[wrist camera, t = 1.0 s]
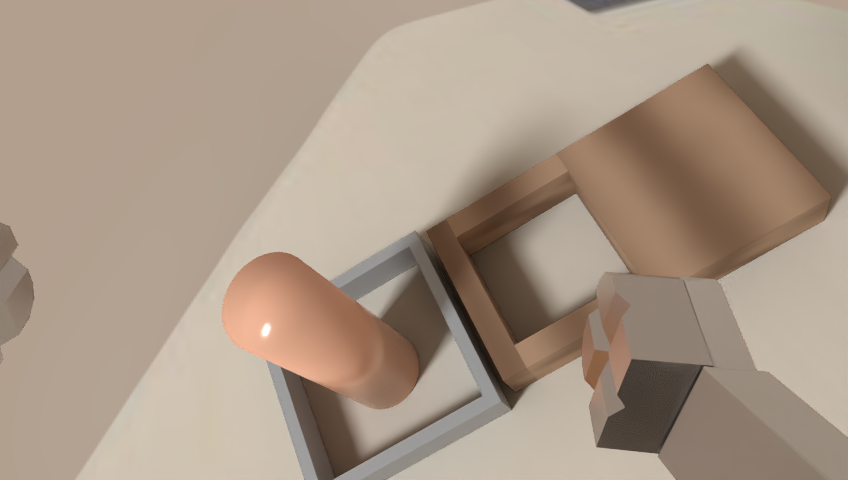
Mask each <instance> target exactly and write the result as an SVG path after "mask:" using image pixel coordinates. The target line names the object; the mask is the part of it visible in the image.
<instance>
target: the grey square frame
mask: <svg viewBox="0 0 848 480" xmlns="http://www.w3.org/2000/svg"><path fill="white" fill-rule="evenodd" d="M416 264H418V265H419V267H420V269H421V271H422V273H423V275H424V277H425V280H426V282H427V284H428V286H429V288H430V290H431V292H432V294H433V296H434V298H435V300H436V302H437V304H438V306H439V308H440V310H441V312H442V314H443V316H444V318H445V320H446V322H447V324H448V326H449V328H450V330H451V333H452V335H453V337H454V339H455V341H456V343H457V345H458V347H459V349H460V351H461V353H462V355H463V357H464V359H465V361H466V363H467V365H468V367H469V369H470V371H471V373H472V375H473V377H474V379H475V381H476V383H477V385H478V388H479V390H480V392H481V394H482V396H481V397H480V398H478V399H476V400H474V401H472V402H471V403H469V404H467V405H465V406H463V407H462V408H460V409H458V410H456V411H455V412H453V413H451V414H449V415H447V416H446V417H444V418H442V419H440V420H438V421H437V422H435V423H433V424H431V425H430V426H428V427H426V428H424V429H422V430H421V431H419V432H417V433H415V434H413V435H412V436H410V437H408V438H406V439H405V440H403V441H401V442H399V443H397V444H396V445H394V446H392V447H390V448H388V449H387V450H385V451H383V452H381V453H380V454H378V455H376V456H374V457H372V458H371V459H369V460H367V461H365V462H363V463H362V464H360V465H358V466H356V467H355V468H353V469H351V470H349V471H347V472H346V473H344V474H342V475H340V476H339V477H337V478H335V476H334V473H333V470H332V468H331V465H330V462H329V459H328V456H327V453H326V450H325V447H324V444H323V441H322V439H321V436H320V433H319V430H318V427H317V424H316V421H315V418H314V415H313V412H312V410H311V407H310V404H309V401H308V398H307V395H306V392H305V389H304V386H303V383H302V380H301V378H300V375H298V374H296V373H294V372H291V371H289V370H287V369H285V368H283V367H281V366H278V365H276V364H274V363H272V362H270V361H268V360H266V361H267V364H268V367H269V370H270V374H271V377H272V380H273V383H274V386H275V389H276V392H277V395H278V399H279V402H280V405H281V408H282V411H283V414H284V417H285V420H286V424H287V427H288V430H289V433H290V436H291V439H292V442H293V445H294V449H295V452H296V455H297V458H298V461H299V464H300V467H301V470H302V474H303V477H304V480H386V479H388V478H390V477H391V476H393V475H395V474H397V473H399V472H401V471H402V470H404V469H406V468H408V467H410V466H411V465H413V464H415V463H417V462H419V461H420V460H422V459H424V458H426V457H428V456H429V455H431V454H433V453H435V452H437V451H438V450H440V449H442V448H444V447H446V446H447V445H449V444H451V443H453V442H455V441H456V440H458V439H460V438H462V437H464V436H465V435H467V434H469V433H471V432H473V431H474V430H476V429H478V428H480V427H482V426H483V425H485V424H487V423H489V422H491V421H492V420H494V419H496V418H498V417H500V416H501V415H503V414H505V413H507V412H509V411H510V410H512V409H511V407H510V405H509V403H508V401H507V400H506V398H505V396H504V394H503V392H502V390H501V388H500V386H499V384H498V382H497V380H496V378H495V376H494V374H493V372H492V370H491V368H490V366H489V364H488V362H487V360H486V358H485V356H484V354H483V352H482V350H481V348H480V346H479V345H478V343H477V341H476V339H475V337H474V335H473V333H472V331H471V329H470V327H469V325H468V323H467V321H466V319H465V317H464V315H463V313H462V311H461V309H460V307H459V305H458V303H457V301H456V299H455V297H454V295H453V293H452V291H451V290H450V288H449V286H448V284H447V282H446V280H445V278H444V276H443V274H442V272H441V270H440V268H439V266H438V264H437V262H436V260H435V258H434V256H433V254H432V252H431V250H430V248H429V246H428V245H427V244H426V243H425V241H424V240H423V239H422V238H421V237H420V236H419V235H418V234H417V232H416V231H414V232H412V233H410V234H409V235H407V236H405V237H404V238H402V239H400V240H399V241H397V242H395V243H394V244H392V245H390V246H389V247H387V248H385V249H384V250H382V251H380V252H379V253H377V254H375V255H374V256H372V257H370V258H369V259H367V260H365V261H364V262H362V263H360V264H359V265H357V266H355V267H354V268H352V269H350V270H349V271H347V272H345V273H344V274H342V275H340V276H339V277H337V278H335V279H333V280H332V281H330V282H331V283H332V284H334V285H335V286H336V287H338V288H339V289H340V290H342V291H343V292H344V293H346V294H347V295H348V296H350V297H351V298H352V299H354V300H357V299H359V298H360V297H362V296H364V295H365V294H367V293H369V292H370V291H372V290H374V289H376V288H377V287H379V286H381V285H382V284H384V283H386V282H387V281H389V280H391V279H392V278H394V277H396V276H397V275H399V274H401V273H403V272H404V271H406V270H408V269H409V268H411V267H413V266H414V265H416Z"/></svg>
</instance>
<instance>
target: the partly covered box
mask: <svg viewBox="0 0 848 480" xmlns="http://www.w3.org/2000/svg"><path fill="white" fill-rule="evenodd" d="M575 193H576V194H577V195H578V197H579V198H580V199H581V201H582V202H583V204H584V205H585V207H586V208H587V210H588V211H589V213H590V214H591V216H592V217H593V218H594V220H595V221H596V223H597V224H598V226H599V227H600V229H601V230H602V232H603V233H604V235H605V236H606V237H607V239H608V240H609V242H610V243H611V245H612V246H613V248H614V249H615V251H616V252H617V254H618V255H619V256H620V258H621V259H622V261H623V262H624V264H625V265H626V267H627V268H628V270H629V271H630V273H631V274H640V275H653V276H667V277H675V278H677V277H690V278H705V279H715V280H718V279H720V278H722V277H723V276H725V275H727V274H729V273H731V272H732V271H734V270H736V269H738V268H740V267H741V266H743V265H745V264H747V263H749V262H750V261H752V260H754V259H756V258H757V257H759V256H761V255H763V254H765V253H766V252H768V251H770V250H772V249H774V248H775V247H777V246H779V245H781V244H783V243H784V242H786V241H788V240H790V239H792V238H793V237H795V236H797V235H799V234H801V233H802V232H804V231H806V230H808V229H810V228H811V227H813V226H815V225H817V224H818V223H820V222H822V221H824V220H825V217H826V214H827V211H828V208H829V205H830V202H831V199H832V196H831V195H830V194H829V192H828V191H827V190H826V189H825V188H824V187H823V186H822V185H821V184H820V183H819V182H818V181H817V180H816V179H815V178H814V176H813V175H812V174H811V173H810V172H809V171H808V170H807V169H806V168H805V167H804V166H803V165H802V164H801V163H800V162H799V160H798V159H797V158H796V157H795V156H794V155H793V154H792V153H791V152H790V151H789V150H788V149H787V148H786V147H785V146H784V144H783V143H782V142H781V141H780V140H779V139H778V138H777V137H776V136H775V135H774V134H773V133H772V132H771V131H770V130H769V128H768V127H767V126H766V125H765V124H764V123H763V122H762V121H761V120H760V119H759V118H758V117H757V116H756V115H755V114H754V112H753V111H752V110H751V109H750V108H749V107H748V106H747V105H746V104H745V103H744V102H743V101H742V100H741V99H740V98H739V96H738V95H737V94H736V93H735V92H734V91H733V90H732V89H731V88H730V87H729V86H728V85H727V84H726V83H725V81H724V80H723V79H722V78H721V77H720V76H719V75H718V74H717V73H716V72H715V71H714V70H713V69H712V68H711V67H710V65H709V64H706V65H704V66H703V67H701V68H699V69H698V70H696V71H694V72H693V73H691V74H689V75H688V76H686V77H684V78H683V79H681V80H679V81H678V82H676V83H674V84H673V85H671V86H669V87H668V88H666V89H664V90H663V91H661V92H659V93H657V94H656V95H654V96H652V97H651V98H649V99H647V100H646V101H644V102H642V103H641V104H639V105H637V106H636V107H634V108H632V109H631V110H629V111H627V112H626V113H624V114H622V115H621V116H619V117H617V118H616V119H614V120H612V121H611V122H609V123H607V124H606V125H604V126H602V127H601V128H599V129H597V130H596V131H594V132H592V133H590V134H589V135H587V136H585V137H584V138H582V139H580V140H579V141H577V142H575V143H574V144H572V145H570V146H569V147H567V148H565V149H564V150H562V151H560V152H559V153H557V154H555V155H554V156H552V157H550V158H549V159H547V160H545V161H544V162H542V163H540V164H539V165H537V166H535V167H534V168H532V169H530V170H528V171H527V172H525V173H523V174H522V175H520V176H518V177H517V178H515V179H513V180H512V181H510V182H508V183H507V184H505V185H503V186H502V187H500V188H498V189H497V190H495V191H493V192H492V193H490V194H488V195H487V196H485V197H483V198H482V199H480V200H478V201H477V202H475V203H473V204H472V205H470V206H468V207H467V208H465V209H463V210H461V211H460V212H458V213H456V214H455V215H453V216H451V217H450V218H448V219H446V220H445V221H443V222H441V223H440V224H438V225H436V226H435V227H433V228H431V229H430V230H428V231H426V232H427V234H428V236H429V238H430V239H431V241H432V243H433V245H434V247H435V249H436V251H437V253H438V255H439V257H440V259H441V261H442V263H443V265H444V267H445V269H446V271H447V273H448V274H449V276H450V278H451V280H452V282H453V284H454V286H455V288H456V290H457V292H458V294H459V296H460V298H461V300H462V302H463V304H464V306H465V308H466V309H467V311H468V313H469V315H470V317H471V319H472V321H473V323H474V325H475V327H476V329H477V331H478V333H479V335H480V337H481V339H482V341H483V343H484V344H485V346H486V348H487V350H488V352H489V354H490V356H491V358H492V360H493V362H494V364H495V366H496V368H497V370H498V372H499V374H500V376H501V378H502V379H503V381H504V382H505V383H506V384H507V385H508V386H509V387H511V388H512V389H513V390H514V391H515V392H517V391H519V390H521V389H522V388H524V387H526V386H528V385H530V384H531V383H533V382H535V381H537V380H539V379H540V378H542V377H544V376H546V375H548V374H549V373H551V372H553V371H555V370H557V369H558V368H560V367H562V366H564V365H566V364H567V363H569V362H571V361H573V360H574V359H576V358H578V357H580V356H582V343H583V333H584V329H585V326H586V322H587V318H588V315H589V314H591V313H592V312H593V311H595V310H596V309H598V308H599V307H598V302H597V299H595V300H593V301H591V302H590V303H588V304H586V305H584V306H583V307H581V308H579V309H577V310H576V311H574V312H572V313H570V314H569V315H567V316H565V317H563V318H561V319H560V320H558V321H556V322H554V323H553V324H551V325H549V326H547V327H546V328H544V329H542V330H540V331H539V332H537V333H535V334H533V335H531V336H530V337H528V338H526V339H524V340H523V341H521V342H519V343H517V341H516V339H515V337H514V335H513V333H512V332H511V330H510V328H509V326H508V324H507V322H506V321H505V319H504V317H503V315H502V313H501V311H500V309H499V308H498V306H497V304H496V302H495V300H494V298H493V297H492V295H491V293H490V291H489V289H488V287H487V286H486V284H485V282H484V280H483V278H482V276H481V275H480V273H479V271H478V269H477V267H476V265H475V264H474V262H473V260H472V258H471V256H470V255H472V254H473V253H475V252H477V251H478V250H480V249H482V248H484V247H485V246H487V245H489V244H490V243H492V242H494V241H495V240H497V239H499V238H501V237H502V236H504V235H506V234H507V233H509V232H511V231H513V230H514V229H516V228H518V227H519V226H521V225H523V224H524V223H526V222H528V221H530V220H531V219H533V218H535V217H536V216H538V215H540V214H541V213H543V212H545V211H547V210H548V209H550V208H552V207H553V206H555V205H557V204H558V203H560V202H562V201H564V200H565V199H567V198H569V197H570V196H572V195H574V194H575Z"/></svg>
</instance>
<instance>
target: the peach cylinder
mask: <svg viewBox="0 0 848 480" xmlns="http://www.w3.org/2000/svg"><path fill="white" fill-rule="evenodd" d="M222 320H223V325H224V328H225V331H226V333H227V335H228V337H229V338H230V339H231V341H232V342H233V343H234V344H235V345H237V346H238V347H240V348H242V349H244V350H246V351H248V352H250V353H252V354H255V355H257V356H259V357H261V358H263V359H265V360H268V361H270V362H272V363H274V364H276V365H278V366H281V367H283V368H285V369H287V370H289V371H291V372H294V373H296V374H298V375H300V376H302V377H304V378H307V379H309V380H311V381H313V382H315V383H317V384H320V385H322V386H324V387H326V388H328V389H330V390H333V391H335V392H337V393H339V394H341V395H343V396H346V397H348V398H350V399H352V400H354V401H356V402H359V403H361V404H363V405H365V406H367V407H370V408H374V409H386V408H390V407H393V406H395V405H397V404H399V403H400V402H402V401H403V400H404V399H405V398H406V397H407V396H408V395H409V394H410V393H411V391H412V390H413V388H414V386H415V384H416V382H417V379H418V375H419V359H418V355H417V352H416V350H415V348H414V346H413V345H412V344H411V343H410V342H409V341H408V340H407V339H406V338H405V337H403V336H402V335H401V334H399V333H398V332H397V331H395V330H394V329H392V328H391V327H390V326H388V325H387V324H386V323H384V322H383V321H382V320H380V319H379V318H378V317H376V316H375V315H374V314H372V313H371V312H370V311H368V310H367V309H366V308H364V307H363V306H362V305H360V304H359V303H358V302H356V301H355V300H354V299H352V298H351V297H350V296H348V295H347V294H346V293H344V292H343V291H342V290H340V289H339V288H338V287H336V286H335V285H334V284H332V283H331V282H330V281H328V280H327V279H325V278H324V277H323V276H321V275H320V274H319V273H317V272H316V271H315V270H313V269H312V268H311V267H309V266H308V265H307V264H305V263H304V262H303V261H301V260H300V259H299V258H297V257H295V256H294V255H291V254H288V253H283V252H274V253H268V254H264V255H262V256H259V257H257V258H256V259H254V260H252V261H251V262H249V263H248V264H247V265H245V266H244V267H243V268H242V269H241V270H240V271H239V272H238V273H237V275H236V276H235V277H234V279H233V280H232V282H231V283H230V285H229V287H228V289H227V292H226V294H225V298H224V301H223V307H222Z"/></svg>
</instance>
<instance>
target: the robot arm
mask: <svg viewBox="0 0 848 480" xmlns="http://www.w3.org/2000/svg"><path fill="white" fill-rule="evenodd" d="M17 246H18V243H17V241H16V239H15V237H14V235H13V233H12V230H11V228H10V227H9V226H8V225H5V224H2V223H0V346H1V345H2V344H4V343H6V342H7V341H9V340H11V339H12V338H14V337H16V336H17V335H19V334H20V332H21V331H22V329H23V328H24V326H25V324H26V323H27V321H28V320H29V317H30V313H31V309H32V305H33V301H34V290H33V282H32V279H31V276H30V274H29V271H28V269H27V268H26V267H24V266H23V265H22V264H21V263H19V262H18V261H17V260H16V259H15V258H13V257H12V255H13V253H14V252H15V250H16V248H17ZM596 296H597V302H598V307H599V308H598V309H596V310H595V311H593V312H592V313H591V314H589V315H588V318H587V322H586V326H585V329H584V333H583V343H582V366H583V373H584V379H585V381H586V382H587V383H588V384H589V385H590V386H591V387H592V388H593V389H594V393H593V396H592V399H591V402H590V405H589V409H590V415H591V420H592V426H593V432H594V437H595V443H596V447H600V448H609V449H619V450H628V451H638V452H647V453H657V454H659V455H658V458H659V459H660V460H661V461H662V463H663V464H664V465H665V466H666V468H667V469H668V470H669V472H670V473H671V474H672V475H673V477H674V478H675V479H676V480H848V437H847V436H846V435H844V434H843V433H842V432H841V431H839V430H838V429H837V428H836V427H835V426H833V425H832V424H831V423H830V422H829V421H827V420H826V419H825V418H824V417H822V416H821V415H820V414H819V413H818V412H816V411H815V410H814V409H813V408H812V407H810V406H809V405H808V404H807V403H806V402H804V401H803V400H802V399H801V398H799V397H798V396H797V395H796V394H795V393H793V392H792V391H791V390H790V389H789V388H787V387H786V386H785V385H784V384H782V383H781V382H780V381H779V380H778V379H776V378H775V377H774V376H773V375H772V374H770V373H769V372H763V371H757V369H756V367H755V364H754V362H753V359H752V357H751V355H750V352H749V350H748V348H747V345H746V343H745V341H744V338H743V336H742V333H741V331H740V329H739V326H738V324H737V322H736V319H735V317H734V315H733V312H732V310H731V307H730V305H729V303H728V300H727V298H726V296H725V293H724V291H723V289H722V286H721V284H720V283H719V282H717V281H716V280H715V279H705V278H690V277H677V278H675V277H667V276H653V275H640V274H627V273H613V272H605V273H604V274H603V276H602V277H601V279H600V281H599V284H598V287H597V290H596ZM2 360H3V357H2V353H1V349H0V363H1V362H2Z"/></svg>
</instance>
